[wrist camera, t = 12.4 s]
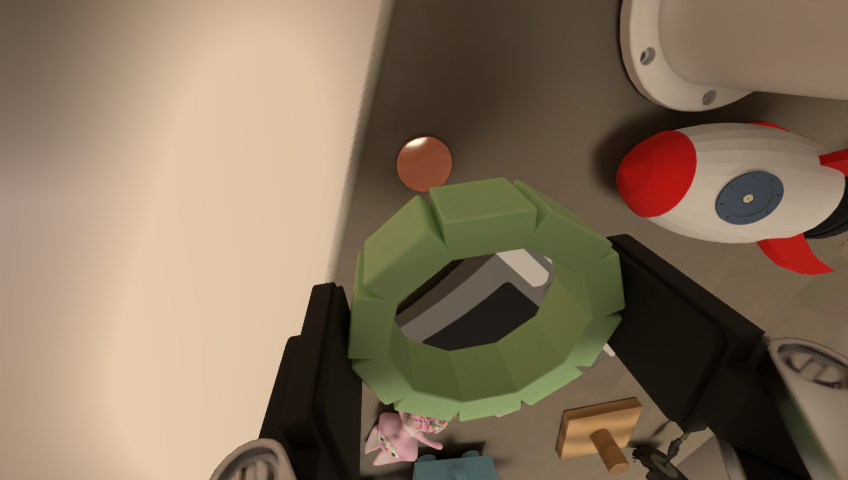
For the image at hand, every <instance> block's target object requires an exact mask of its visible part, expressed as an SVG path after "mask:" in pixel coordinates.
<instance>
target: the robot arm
mask: <svg viewBox="0 0 848 480" xmlns="http://www.w3.org/2000/svg"><path fill="white" fill-rule="evenodd" d="M620 44H621V50H622V57H623V62H624V64H625V67H626V70H627V72H628V75H629V78H630V79H631V81H632V82H633V84H634V85H635V87H636V88H637V89H638V91H639V92H640V93H641V94H642V95H644V96H645V97H646V98H647V99H648V100H650V101H651V102H653V103H655V104H657V105H660V106H662V107H664V108H669V109H674V110H679V111H690V112H700V111H706V110H711V109H716V108H719V107H722V106H725V105H727V104H730V103H732V102H735V101H737V100H739V99H741V98H743V97H744V96H746V95H748V94H750V93H751V92H753V91H763V92H772V93H782V94H791V95H801V96H810V97H819V98H829V99H838V100H848V0H623V3H622V9H621V15H620ZM606 239H608V240H609V241H610V242H611V243H612V247H611V248H612V249H613V250H615V251H616V252H617V253H618V255H619V260H620V268H621V276H622V284H623V291H624V299H625V308H624V309H622V310H619V311H617V312H618V313H619V314H620V315H621V317H622V320H621V322H620V323H619V325H618V326H617V328H616V329H615V331H614V332H613V334H612V335H611V337H610V338H609V340H608V341H607V344H608V345H609V347H610V348H611V349H612V350H613V352H614V353H615V354H616V355H617V357H618V358H619V359H620V360H621V361H622V363H623V364H624V365H625V366H626V368H627V369H628V370H629V371H630V373H631V374H632V375H633V376H634V378H635V379H636V380H637V381H638V383H639V384H640V385H641V386H642V388H643V389H644V390H645V391H646V393H647V394H648V395H649V396H650V398H651V399H652V400H653V401H654V403H655V404H656V405H657V406H658V407H659V409H660V410H661V411H662V412H663V414H664V415H665V416H666V417H667V418H668V419H669V420H671V421H673V422H676V423H677V425H678V426H679V427H680V428H681V429H682V431H683V432H684V433H685V434H687V433H692V432H697V431H701V430H705V429H706V428H707V426H708V427H709V428H710V429H711V431H712V432H713V433H714V434H715V435H716V440H717V443H718V446H719V449H720V452H721V455H722V458H723V461H724V464H725V468H726V471H727V474H728V477H729V480H848V358H847V357H846V356H844V355H842V354H840V353H838V352H836V351H834V350H832V349H830V348H828V347H826V346H823V345H820V344H818V343H815V342H812V341H808V340H804V339H799V338H790V337H784V338H776V339H774V340H773V341H771V342H770V343H769V344H768V345H766V344H765V343H764V342H762V341H761V338H762V337H763V335H764V333H765V331H763V330H762V329H760V328H759V327H758V326H756V325H755V324H753V323H752V322H751V321H749V320H748V319H746V318H745V317H744V316H742V315H741V314H739V313H738V312H736V311H735V310H734V309H732V308H731V307H729V306H728V305H727V304H725V303H724V302H722V301H721V300H720V299H718V298H717V297H715V296H714V295H713V294H711V293H710V292H708V291H707V290H706V289H704V288H703V287H701V286H700V285H699V284H697V283H696V282H694V281H693V280H692V279H690V278H689V277H687V276H686V275H685V274H683V273H682V272H680V271H679V270H678V269H676V268H675V267H673V266H672V265H671V264H669V263H668V262H666V261H665V260H664V259H662V258H661V257H659V256H658V255H657V254H655V253H654V252H652V251H651V250H650V249H648V248H647V247H645V246H644V245H642V244H641V243H640V242H638V241H637V240H635V239H634V238H633V237H631V236H630V235H628V234H622V235H616V236H610V237H606ZM349 323H350V309H349V306H348V302H347V299H346V295H345V292H344V289H343V287H342V286H338V287H336V284H335V283H334V282H331V283H325V284H319V285H315V286H313V288H312V292H311V296H310V300H309V304H308V308H307V312H306V316H305V319H304V323H303V327H302V331H301V335H298V336H292V337H290V338H289V339H288V341H287V343H286V346H285V350H284V353H283V357H282V360H281V363H280V367H279V370H278V374H277V377H276V380H275V384H274V387H273V390H272V394H271V397H270V401H269V404H268V407H267V411H266V414H265V418H264V421H263V424H262V428H261V431H260V435H259V438H258V439H256V440H252V441H250V442H248V443H246V444H244V445H242V446H240V447H238V448H237V449H235V450H234V451H233V452H232V453H230V454H229V455H228V456H227V457H226V458H225V459H224V460H223V461H222V462H221V463H220V465H219V466H218V467H217V468H216V469H215V471H214V473H213V474H212V476H211V478H210V480H359V470H360V437H361V405H362V379H361V378H360V377H359V376H358V375H357V374H356V373H355V372H354V371H353V370H352V359H349V358H348V355H347V347H348V335H349Z"/></svg>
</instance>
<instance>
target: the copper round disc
mask: <svg viewBox="0 0 848 480" xmlns="http://www.w3.org/2000/svg"><path fill="white" fill-rule="evenodd" d="M396 165H397V171H398V175H399V177H400V179H401V180H402V182H403V183H404V184H405V185H406V186H407V187H409V188H410V189H413V190H415V191H420V192H427V191H430V188H432V187H438V186H441V185H442V184H444V182H445V181H446V180H447V179H448V177H449V175H450V173H451V170H452V157H451V153H450V151H449V149H448V148H447V146H446V145H445V144H444V143H443V142H442V141H440V140H439V139H437V138H435V137H432V136H418V137H415V138H413V139H411V140H409V141H408V142H407V143H405V144H404V146H403V147H402V148H401V150H400V152H399V154H398V157H397V164H396Z"/></svg>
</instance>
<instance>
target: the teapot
mask: <svg viewBox="0 0 848 480" xmlns="http://www.w3.org/2000/svg"><path fill="white" fill-rule="evenodd" d="M417 461H418V462H415V465H414V472H413V479H412V480H499V479H498V475H497V472H496V468H495V465H494V462H493V458H492V455H486V456H479V452H478V451H475V450H471V451H467V452H465V453H464V454H463V455H462V458H455V459H445V460H436V457H435V456H434V455H423V456H421V457H420V458H418V460H417Z"/></svg>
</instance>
